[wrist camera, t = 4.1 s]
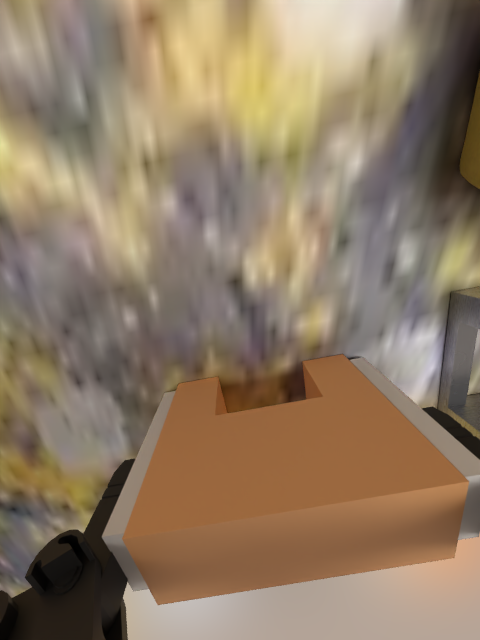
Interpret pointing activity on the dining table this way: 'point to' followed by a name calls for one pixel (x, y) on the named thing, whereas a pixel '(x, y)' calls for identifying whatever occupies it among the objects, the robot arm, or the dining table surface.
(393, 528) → the brown notched block
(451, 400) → the rail
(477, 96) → the flower pot
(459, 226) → the dining table surface
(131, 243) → the dining table surface
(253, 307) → the dining table surface
